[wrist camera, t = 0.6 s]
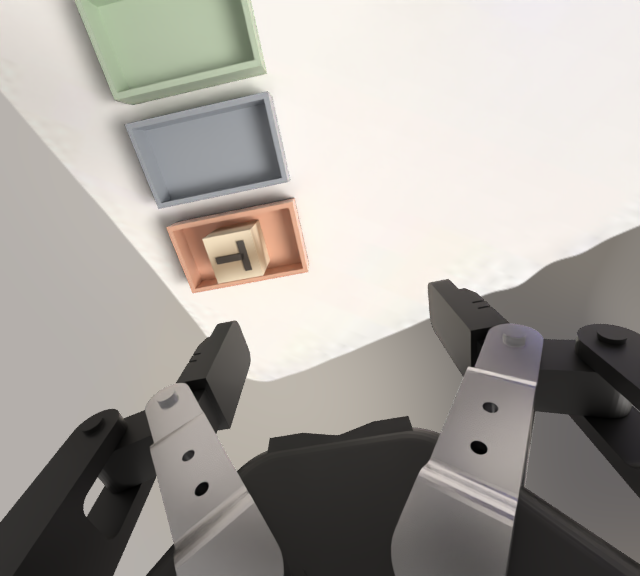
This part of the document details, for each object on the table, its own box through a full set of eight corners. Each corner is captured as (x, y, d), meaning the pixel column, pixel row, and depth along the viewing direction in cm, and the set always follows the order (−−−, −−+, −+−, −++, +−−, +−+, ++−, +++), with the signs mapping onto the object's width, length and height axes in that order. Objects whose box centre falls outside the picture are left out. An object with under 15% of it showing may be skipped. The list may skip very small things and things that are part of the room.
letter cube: (217, 228, 35) (201, 239, 30) (258, 219, 35) (249, 230, 30) (230, 267, 37) (217, 284, 32) (270, 260, 37) (262, 276, 32)
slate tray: (141, 127, 31) (124, 124, 29) (272, 96, 30) (267, 91, 28) (171, 204, 35) (158, 208, 32) (290, 179, 34) (287, 181, 31)
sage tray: (94, 4, 27) (69, -13, 25) (243, -35, 26) (234, -57, 24) (132, 105, 31) (114, 100, 28) (266, 73, 30) (261, 65, 27)
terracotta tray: (177, 221, 35) (166, 227, 33) (294, 197, 34) (292, 201, 32) (201, 283, 39) (192, 293, 36) (308, 263, 38) (308, 272, 35)
